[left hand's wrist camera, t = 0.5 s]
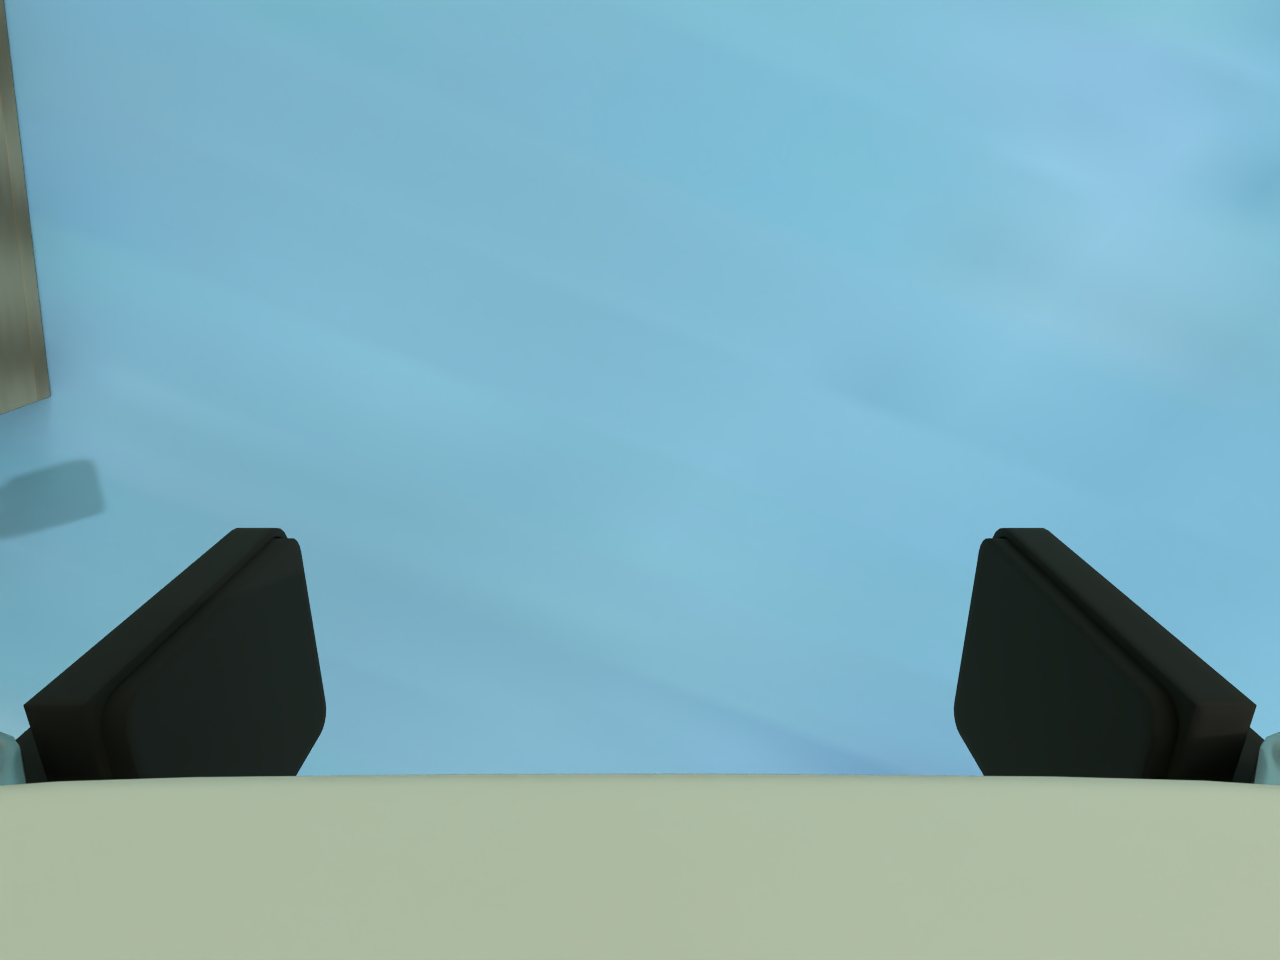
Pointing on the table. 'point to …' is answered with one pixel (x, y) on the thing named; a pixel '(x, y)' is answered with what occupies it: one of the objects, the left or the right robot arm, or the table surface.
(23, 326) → the cabinet
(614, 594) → the table surface
